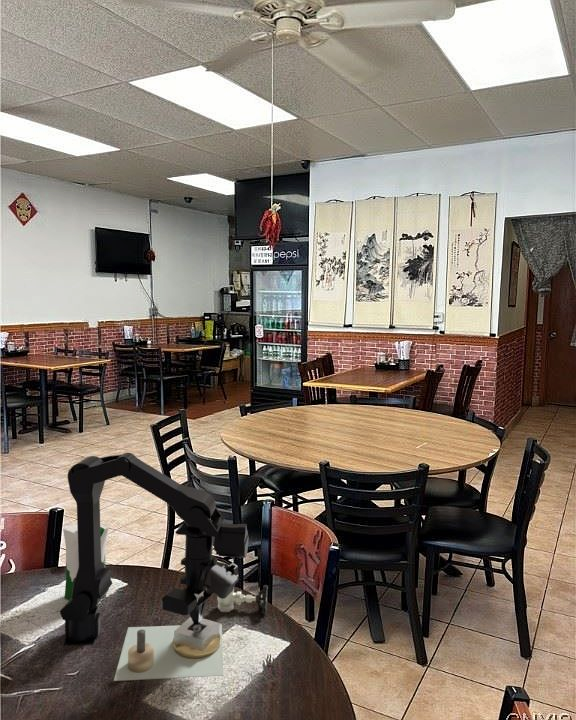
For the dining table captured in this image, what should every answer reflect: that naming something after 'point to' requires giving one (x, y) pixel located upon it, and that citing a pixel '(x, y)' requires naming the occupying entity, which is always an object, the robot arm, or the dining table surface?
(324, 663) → the dining table surface
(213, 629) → the square ring
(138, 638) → the stand
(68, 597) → the milk carton
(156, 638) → the mat
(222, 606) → the valve
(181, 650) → the bell
